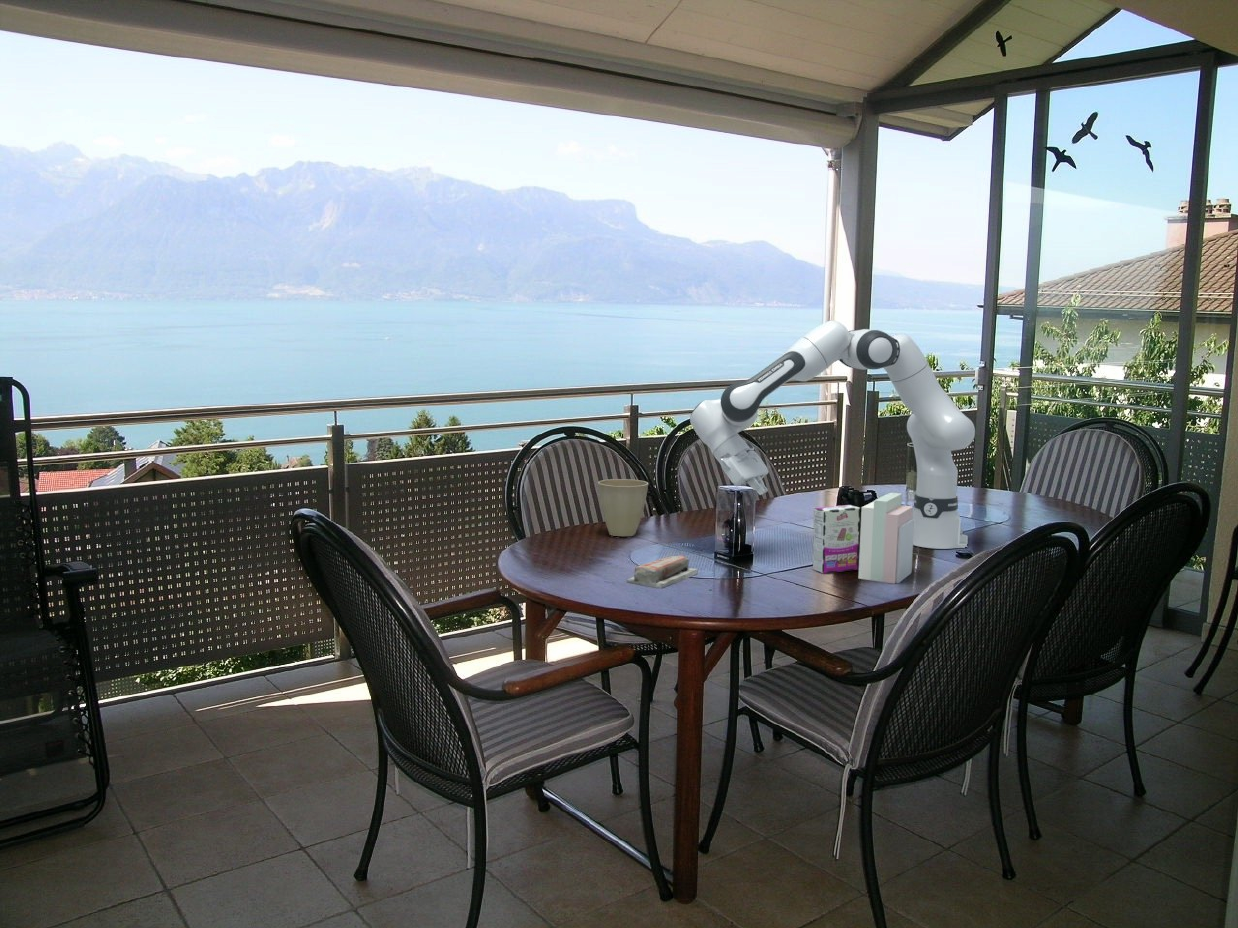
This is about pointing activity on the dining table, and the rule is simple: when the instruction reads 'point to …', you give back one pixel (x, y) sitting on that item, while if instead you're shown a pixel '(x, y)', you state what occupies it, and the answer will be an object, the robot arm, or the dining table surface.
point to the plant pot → (622, 504)
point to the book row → (886, 540)
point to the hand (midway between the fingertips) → (764, 493)
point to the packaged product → (663, 572)
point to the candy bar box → (836, 539)
